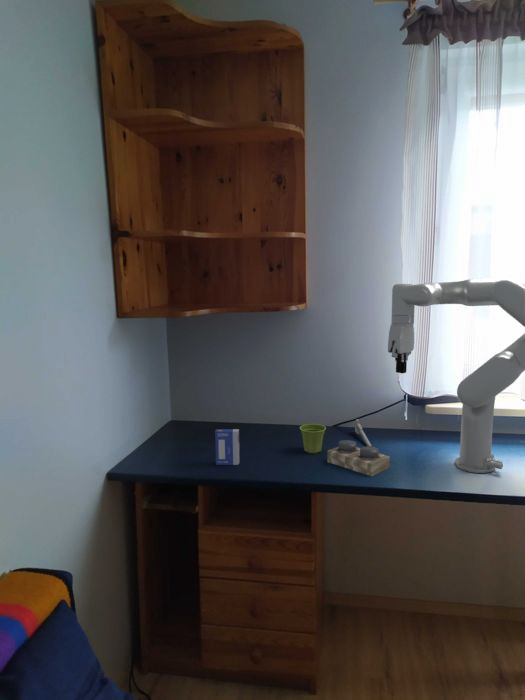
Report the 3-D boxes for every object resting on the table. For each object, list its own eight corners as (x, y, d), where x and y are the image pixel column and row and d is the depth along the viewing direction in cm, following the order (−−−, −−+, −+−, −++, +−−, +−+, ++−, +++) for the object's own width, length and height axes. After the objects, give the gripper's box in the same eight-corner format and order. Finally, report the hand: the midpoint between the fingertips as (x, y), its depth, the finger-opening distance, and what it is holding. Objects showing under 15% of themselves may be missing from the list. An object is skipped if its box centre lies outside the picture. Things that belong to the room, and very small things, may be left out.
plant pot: (326, 455, 188) (326, 431, 186) (299, 454, 189) (299, 431, 187) (325, 446, 197) (325, 424, 196) (299, 446, 198) (300, 423, 197)
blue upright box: (215, 465, 180) (215, 430, 178) (216, 462, 182) (215, 428, 181) (239, 465, 180) (238, 430, 178) (239, 462, 182) (239, 428, 180)
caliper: (354, 433, 213) (355, 418, 212) (357, 433, 213) (357, 418, 213) (370, 450, 193) (370, 433, 192) (372, 450, 193) (373, 433, 192)
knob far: (359, 461, 182) (359, 442, 181) (348, 465, 178) (349, 447, 177) (345, 456, 186) (345, 439, 185) (334, 461, 182) (334, 443, 181)
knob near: (382, 468, 175) (382, 449, 174) (371, 472, 171) (371, 453, 170) (366, 463, 180) (367, 445, 179) (356, 468, 175) (356, 449, 174)
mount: (389, 468, 176) (389, 456, 175) (371, 476, 169) (371, 464, 168) (345, 454, 188) (345, 443, 188) (327, 461, 182) (327, 450, 181)
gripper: (404, 317, 191) (403, 368, 193) (380, 321, 180) (379, 374, 183) (423, 319, 185) (421, 371, 188) (400, 322, 175) (398, 377, 178)
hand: (401, 372), depth 186 cm, fingers closed
